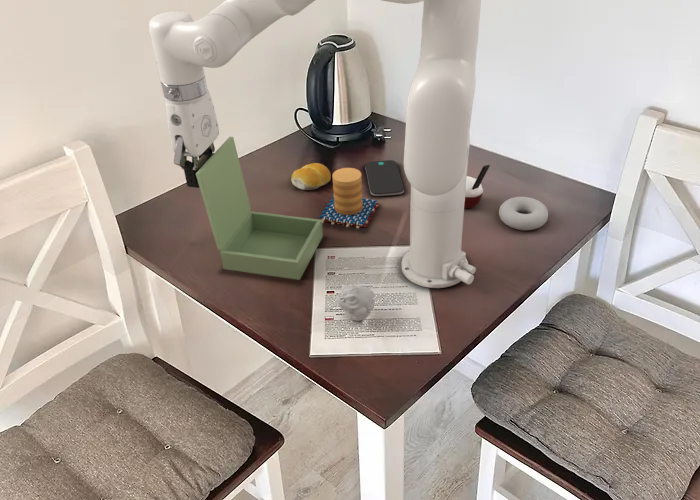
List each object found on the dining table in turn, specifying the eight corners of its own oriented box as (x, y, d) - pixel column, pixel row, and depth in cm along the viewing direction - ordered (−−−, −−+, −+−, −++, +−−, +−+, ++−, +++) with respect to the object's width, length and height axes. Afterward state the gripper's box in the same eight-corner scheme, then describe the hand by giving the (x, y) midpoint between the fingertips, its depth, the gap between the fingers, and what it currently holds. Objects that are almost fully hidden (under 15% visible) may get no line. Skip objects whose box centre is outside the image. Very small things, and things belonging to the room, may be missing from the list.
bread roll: (337, 179, 154) (336, 164, 152) (310, 195, 149) (308, 179, 147) (313, 168, 159) (311, 153, 157) (285, 183, 154) (283, 168, 152)
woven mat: (366, 232, 136) (365, 224, 135) (318, 225, 139) (317, 217, 138) (380, 206, 144) (380, 198, 143) (334, 200, 147) (334, 192, 146)
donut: (531, 240, 132) (556, 217, 138) (533, 225, 130) (558, 203, 135) (488, 222, 138) (514, 201, 143) (490, 208, 136) (516, 188, 141)
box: (323, 239, 135) (321, 219, 132) (300, 283, 124) (297, 262, 121) (252, 230, 139) (249, 211, 136) (223, 272, 127) (220, 252, 125)
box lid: (233, 136, 126) (208, 136, 128) (199, 173, 115) (173, 173, 116) (251, 209, 135) (228, 208, 137) (221, 250, 124) (197, 248, 126)
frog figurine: (331, 313, 116) (328, 282, 112) (366, 301, 119) (365, 270, 114) (345, 334, 112) (343, 303, 108) (382, 321, 114) (381, 290, 110)
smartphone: (396, 159, 159) (405, 191, 147) (395, 162, 159) (405, 194, 147) (364, 161, 159) (371, 194, 146) (364, 165, 159) (371, 197, 147)
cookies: (365, 201, 142) (364, 169, 137) (358, 216, 137) (357, 183, 133) (339, 198, 144) (337, 166, 139) (331, 213, 139) (328, 180, 134)
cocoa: (448, 195, 147) (451, 146, 140) (476, 192, 147) (480, 144, 140) (458, 218, 139) (461, 168, 132) (487, 215, 139) (492, 165, 132)
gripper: (181, 109, 107) (200, 204, 117) (224, 70, 120) (238, 159, 131) (140, 106, 108) (163, 200, 119) (187, 68, 122) (204, 156, 132)
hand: (202, 178), depth 125 cm, fingers closed on box lid, 5 cm apart
